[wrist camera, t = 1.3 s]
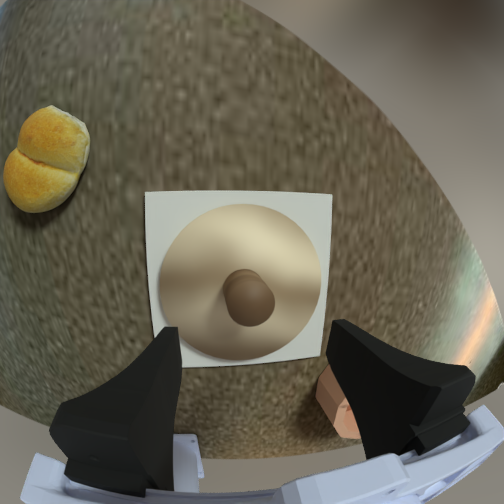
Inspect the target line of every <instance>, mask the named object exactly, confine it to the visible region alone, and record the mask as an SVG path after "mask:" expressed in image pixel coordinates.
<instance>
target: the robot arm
mask: <svg viewBox="0 0 504 504" xmlns="http://www.w3.org/2000/svg"><path fill="white" fill-rule="evenodd" d="M326 356H327V359H328V362H329V365H330V368H331V370H332V372H333V374H334V376H335V378H336V380H337V382H338V384H339V386H340V388H341V390H342V391H343V393H344V395H345V397H346V399H347V401H348V403H349V405H350V407H351V409H352V412H353V415H354V418H355V420H356V423H357V426H358V429H359V433H360V436H361V439H362V443H363V447H364V450H365V454H366V459H367V460H365V461H362V462H359V463H355V464H352V465H348V466H345V467H341V468H337V469H333V470H329V471H325V472H320V473H316V474H311V475H308V476H304V477H301V478H297V479H294V480H292V481H290V482H288V483H285V484H283V485H282V486H281V487H280V488H277V489H269V490H259V491H248V492H231V493H199V484H198V478H204V472H203V466H202V462H201V456H200V451H199V446H198V440H197V436H196V435H195V434H173V433H174V419H175V413H176V407H177V401H178V396H179V390H180V384H181V377H182V355H181V348H180V341H179V333H178V327H164V328H163V329H162V330H161V331H160V332H159V333H158V335H157V336H156V337H155V338H154V340H153V341H152V342H151V343H150V344H149V345H148V347H147V348H146V349H145V350H144V351H143V352H142V353H141V354H140V355H139V356H138V357H137V358H136V359H135V360H134V361H133V362H132V363H131V364H130V365H129V366H128V367H127V368H126V369H124V370H123V371H122V372H121V373H119V374H118V375H117V376H115V377H114V378H112V379H111V380H109V381H108V382H106V383H105V384H103V385H101V386H100V387H98V388H96V389H94V390H92V391H90V392H88V393H86V394H84V395H82V396H79V397H77V398H74V399H71V400H68V401H66V402H63V403H61V405H60V407H59V408H58V410H57V412H56V415H55V417H54V419H53V422H52V424H51V426H50V429H49V431H50V435H51V437H52V438H53V440H54V442H55V443H56V444H57V445H58V447H59V448H60V449H61V450H62V452H63V453H64V454H65V455H66V456H67V457H68V461H67V464H64V463H63V462H61V461H59V460H57V459H54V458H51V457H48V456H45V455H43V454H40V453H35V456H34V458H33V461H32V464H31V467H30V469H29V472H28V475H27V477H26V481H25V483H24V487H23V490H22V493H21V496H20V499H21V500H22V501H23V502H24V503H26V504H424V503H426V502H427V501H429V500H431V499H432V498H434V497H436V496H437V495H439V494H440V493H442V492H444V491H445V490H447V489H448V488H450V487H451V486H453V485H454V484H455V483H457V482H458V481H460V480H461V479H462V478H464V477H465V476H467V475H468V474H469V473H471V472H472V471H473V470H475V469H476V468H477V467H478V466H480V465H481V464H482V463H483V462H484V461H485V460H486V459H487V458H488V457H489V456H490V455H491V454H492V453H493V452H494V451H495V450H496V449H497V447H498V446H499V445H500V444H501V443H502V442H503V441H504V428H503V426H502V425H501V424H500V423H499V421H498V420H497V419H496V418H495V417H494V416H493V414H492V413H491V412H490V411H489V410H488V409H487V407H486V406H485V405H482V406H480V407H479V408H477V409H476V410H474V411H472V412H471V413H470V414H468V415H467V417H466V416H465V415H464V414H463V412H464V411H465V408H464V407H463V405H462V404H463V403H464V401H465V400H466V398H467V396H468V395H469V393H470V392H471V390H472V388H473V386H474V383H475V375H474V373H473V372H472V371H471V370H470V369H469V368H468V367H467V366H464V365H453V364H445V363H440V362H435V361H431V360H427V359H423V358H420V357H417V356H414V355H411V354H408V353H406V352H403V351H401V350H399V349H397V348H394V347H392V346H390V345H388V344H386V343H385V342H383V341H381V340H379V339H377V338H376V337H374V336H372V335H370V334H369V333H367V332H366V331H364V330H362V329H361V328H359V327H357V326H356V325H354V324H352V323H351V322H349V321H347V320H345V319H340V320H333V321H332V326H331V331H330V336H329V341H328V345H327V350H326Z"/></svg>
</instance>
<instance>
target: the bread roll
mask: <svg viewBox="0 0 504 504" xmlns="http://www.w3.org/2000/svg"><path fill="white" fill-rule="evenodd" d="M89 150H90V136H89V133H88V130H87V128H86V125H85V124H84V123H83V122H82V121H80V120H78V119H77V118H75V117H74V116H71V115H70V114H69V113H67V112H63V111H61V110H60V109H58V108H56V107H54V106H52V105H50V106H49V107H46V108H43V109H40V110H38V111H36V112H35V113H33V114H32V115H31V116H30V117H29V118H28V119H27V120H26V121H25V122H24V124H23V125H22V127H21V130H20V134H19V139H18V145H17V148H16V149H15V150H13V151H12V152H11V153H10V155H9V156H8V158H7V160H6V163H5V167H4V176H3V178H4V185H5V188H6V191H7V193H8V196H9V197H10V199H11V201H12V202H13V203H14V204H15V205H16V206H17V207H18V208H20V209H21V210H23V211H25V212H30V213H39V212H45V211H49V210H51V209H53V208H55V207H57V206H59V205H60V204H62V203H63V202H64V201H65V200H66V199H67V198H68V197H69V196H70V195H71V193H72V192H73V190H74V189H75V187H76V186H77V183H78V180H79V177H80V174H81V173H82V171H83V170H84V167H85V165H86V162H87V159H88V155H89Z"/></svg>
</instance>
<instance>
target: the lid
mask: <svg viewBox="0 0 504 504" xmlns="http://www.w3.org/2000/svg"><path fill="white" fill-rule="evenodd" d="M320 290H321V268H320V263H319V259H318V255H317V253H316V250H315V248H314V246H313V244H312V242H311V241H310V239H309V237H308V236H307V235H306V233H305V232H304V231H303V230H302V229H301V228H300V227H299V226H298V225H297V224H296V223H295V222H294V221H293V220H291V219H290V218H288V217H287V216H285V215H284V214H282V213H280V212H278V211H276V210H273V209H270V208H268V207H264V206H259V205H253V204H232V205H227V206H222V207H218V208H216V209H213V210H210V211H208V212H206V213H204V214H202V215H200V216H199V217H197V218H196V219H194V220H193V221H191V222H190V223H189V224H188V225H187V226H186V227H185V228H184V229H182V231H181V232H180V233H179V234H178V235H177V237H176V238H175V239H174V241H173V242H172V244H171V246H170V247H169V249H168V251H167V253H166V256H165V258H164V261H163V264H162V268H161V274H160V296H161V302H162V305H163V309H164V312H165V314H166V316H167V318H168V321H169V322H170V324H171V325H172V327H178V333H179V336H180V337H181V338H182V339H183V340H185V341H186V342H187V343H188V344H189V345H191V346H192V347H194V348H195V349H197V350H199V351H201V352H203V353H205V354H207V355H210V356H213V357H216V358H220V359H226V360H249V359H255V358H259V357H263V356H266V355H268V354H271V353H273V352H275V351H277V350H279V349H281V348H282V347H284V346H285V345H287V344H288V343H290V342H291V341H292V340H293V339H294V338H295V337H296V336H297V335H298V334H299V333H300V332H301V331H302V330H303V329H304V327H305V326H306V325H307V323H308V322H309V320H310V318H311V317H312V315H313V313H314V311H315V308H316V306H317V303H318V299H319V296H320Z"/></svg>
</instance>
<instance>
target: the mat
mask: <svg viewBox="0 0 504 504" xmlns="http://www.w3.org/2000/svg"><path fill="white" fill-rule="evenodd" d="M232 204H253V205H259V206H264V207H268V208H270V209H273V210H276V211H278V212H280V213H282V214H284V215H285V216H287V217H288V218H290V219H291V220H293V221H294V222H295V223H296V224H297V225H298V226H299V227H300V228H301V229H302V230H303V231H304V232H305V233H306V235H307V236H308V237H309V239H310V241H311V242H312V244H313V246H314V248H315V250H316V253H317V255H318V259H319V263H320V268H321V290H320V296H319V299H318V303H317V306H316V308H315V311H314V313H313V315H312V317H311V318H310V320H309V322H308V323H307V325H306V326H305V327H304V329H303V330H302V331H301V332H300V333H299V334H298V335H297V336H296V337H295V338H294V339H293V340H292V341H291V342H290V343H288V344H287V345H285V346H284V347H282V348H281V349H279V350H277V351H275V352H273V353H271V354H268V355H266V356H263V357H259V358H255V359H249V360H226V359H220V358H216V357H213V356H210V355H207V354H205V353H203V352H201V351H199V350H197V349H195V348H194V347H192V346H191V345H189V344H188V343H187V342H186V341H185V340H183V339H182V338H181V337H180V336H179V341H180V348H181V355H182V367H212V366H231V365H245V364H257V363H268V362H277V361H286V360H294V359H301V358H308V357H315V356H320V350H321V342H322V334H323V325H324V317H325V307H326V297H327V286H328V273H329V259H330V242H331V219H332V194H316V193H296V192H271V191H164V192H145V226H146V252H147V269H148V282H149V294H150V304H151V313H152V322H153V329H154V337H156V336H157V335H158V333H159V332H160V331H161V330H162V329H163V328H164V327H172V325H171V324H170V322H169V321H168V318H167V316H166V314H165V312H164V309H163V305H162V302H161V296H160V274H161V268H162V264H163V261H164V258H165V256H166V253H167V251H168V249H169V247H170V246H171V244H172V242H173V241H174V239H175V238H176V237H177V235H178V234H179V233H180V232H181V231H182V229H184V228H185V227H186V226H187V225H188V224H189V223H190V222H191V221H193V220H194V219H196V218H197V217H199V216H200V215H202V214H204V213H206V212H208V211H210V210H213V209H216V208H218V207H222V206H227V205H232Z"/></svg>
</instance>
